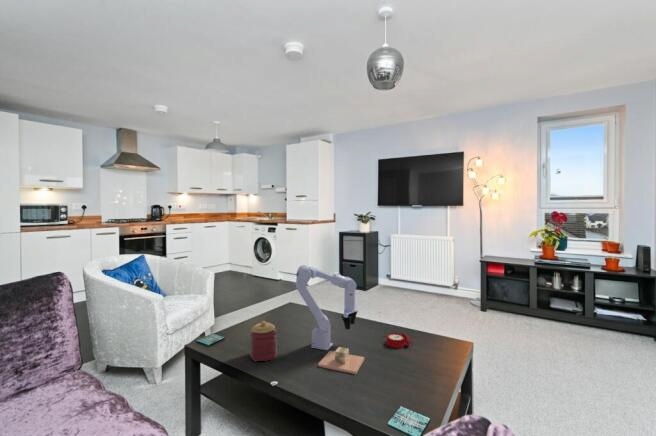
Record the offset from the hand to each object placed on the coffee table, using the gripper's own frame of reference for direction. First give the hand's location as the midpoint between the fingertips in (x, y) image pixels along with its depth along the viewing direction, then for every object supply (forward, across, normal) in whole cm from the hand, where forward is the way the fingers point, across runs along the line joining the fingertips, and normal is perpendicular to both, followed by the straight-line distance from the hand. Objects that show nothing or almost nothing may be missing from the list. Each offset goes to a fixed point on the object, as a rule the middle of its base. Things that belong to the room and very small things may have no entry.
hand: (349, 326), depth 166 cm
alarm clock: (+10, +10, -24) cm, 28 cm away
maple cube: (+8, -21, -3) cm, 23 cm away
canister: (+10, -29, +35) cm, 46 cm away
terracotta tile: (+9, -21, -3) cm, 23 cm away
